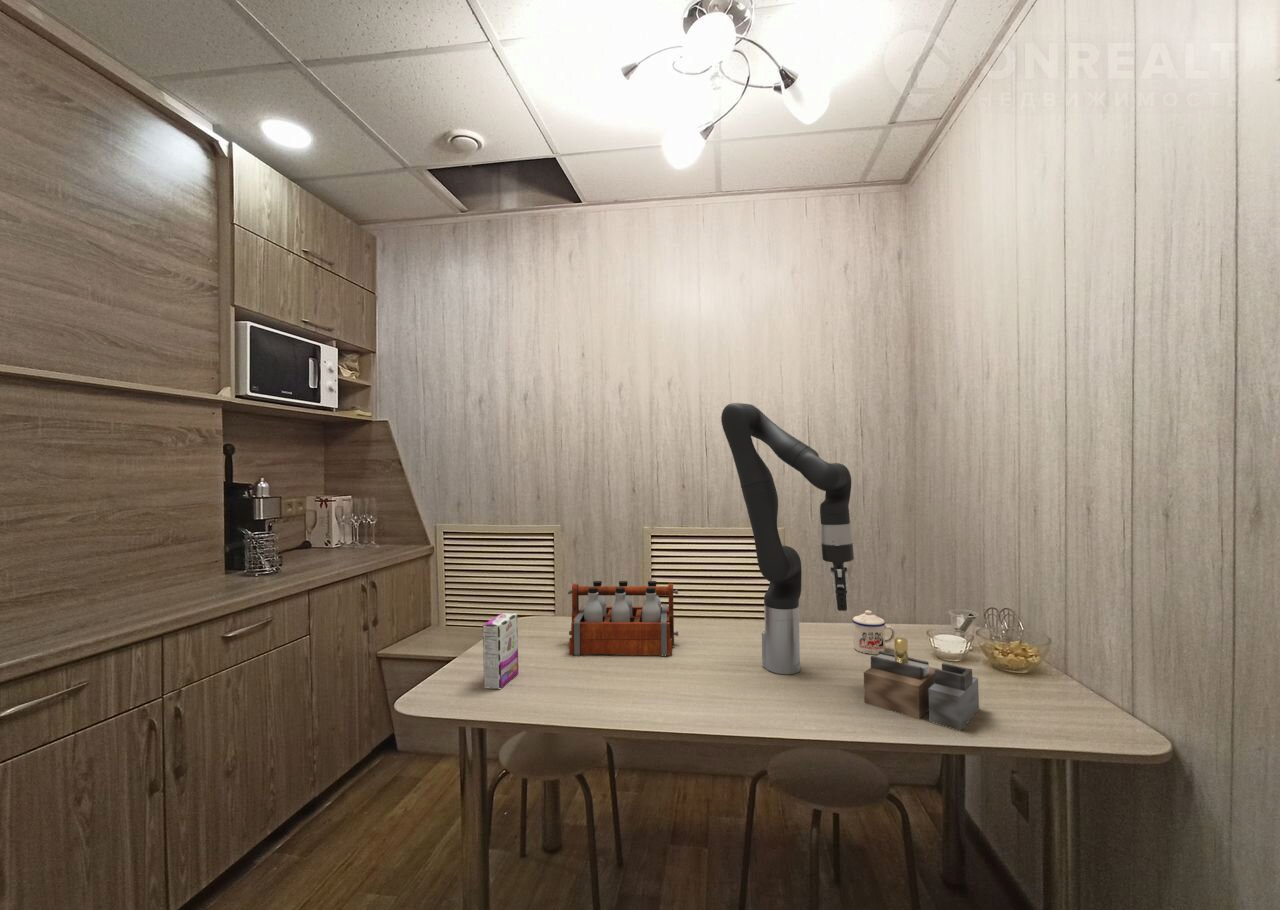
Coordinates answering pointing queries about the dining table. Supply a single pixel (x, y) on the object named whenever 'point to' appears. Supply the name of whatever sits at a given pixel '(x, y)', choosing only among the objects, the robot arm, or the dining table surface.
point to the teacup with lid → (870, 633)
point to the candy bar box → (500, 650)
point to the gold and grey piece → (904, 655)
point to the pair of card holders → (923, 690)
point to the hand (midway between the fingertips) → (841, 606)
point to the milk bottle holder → (622, 620)
